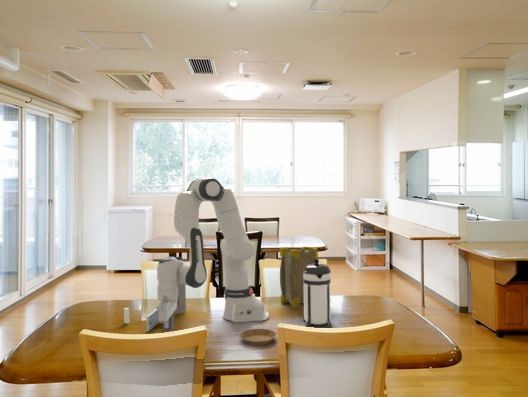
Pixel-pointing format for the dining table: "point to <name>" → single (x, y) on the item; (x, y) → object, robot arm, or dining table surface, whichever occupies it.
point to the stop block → (171, 324)
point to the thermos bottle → (181, 296)
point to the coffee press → (317, 294)
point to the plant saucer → (258, 336)
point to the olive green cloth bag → (294, 273)
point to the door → (152, 319)
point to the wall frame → (126, 315)
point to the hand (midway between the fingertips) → (168, 325)
